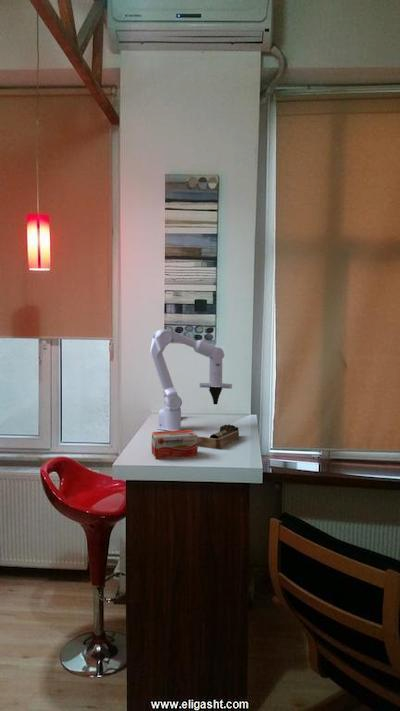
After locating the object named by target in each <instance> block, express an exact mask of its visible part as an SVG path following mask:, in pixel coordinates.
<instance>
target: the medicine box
mask: <svg viewBox="0 0 400 711" xmlns="http://www.w3.org/2000/svg"><path fill="white" fill-rule="evenodd" d="M197 436H198V434H197V433H195V432H194V430H192V429H181V430H178V431H168V430H161V431H152V433H151V454H152V455H153V457H154V459H155V460H163V459H165V460H166V459H178V458H194V457H193V456H196V457H198V449H199V448H198V447H199V446H198V437H197Z"/></svg>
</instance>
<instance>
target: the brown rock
mask: <svg viewBox="0 0 400 711" xmlns="http://www.w3.org/2000/svg"><path fill="white" fill-rule="evenodd" d="M239 429H240V428H239V427H238V426H235V425H233V424H224V425H220V427H219V430H218V431H217V432H216V433H213V434H211V435H210V436H209V438H215V439H218V438H221V437H223V436H225V435H227V434H230V433H232V432H234V431H239V432H240V430H239Z"/></svg>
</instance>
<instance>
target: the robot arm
mask: <svg viewBox="0 0 400 711" xmlns="http://www.w3.org/2000/svg"><path fill="white" fill-rule="evenodd" d="M175 342H176V343H180V344H183V345H185V346H188V347H190V348H192V349H193V351H194V352H195V353H198V354H200V355H202V356H204V357H206V358H209V372H208V373H209V381H208V382H200V383H199V388H200V389H201V388H203V389H205V388H207V389H208V388H209V389H208V391H209V394H210V396H211V398H212V402H213V405H218V402H219V398H220V395H221V393H222V390H223V389H229V390H232V389H233V384H232V383H224V382H223V359H224V358H225V353H224V350H223V349H222V348H221V347H217V346H216V345H215V344H210V343H208V342H207V341H206V340H205V339H202V340H201V339H198V340H194V339H192V338H189V337H187V336H186V335H184V334H181V333H179V332H175V331H173V330H170V329H167V328H166V329H165V328H164V329H161V328H160V329H158V330H156V331H155V333H154V334H153V336H152V339H151V345H150V347H149V348H150V349H149V353H150V356H151V359H152V362H153V364H154V368H155V371H156V373H157V376H158V380H159V383H160V386H161V388H162V394H163V404H164V405H165V406H164V407H163V408H160V410H159V411H158V415H157V418H158V424H157V426H158V428H157V430H161V431H179V430H185V427H184V426H182V423H181V422H182V420H181V419H182V409H181V407H182V404H183V400H182V398H181V397H180V396H179V395H178V393H177V390H176V388H175V386H174V383H173V380H172V378H171V375H170V372H169V369H168V366H167V363H166V360H165V357H164V355H163V353H164V350H165V349H166V347H168V345H170V343H175Z"/></svg>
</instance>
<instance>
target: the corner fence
mask: <svg viewBox="0 0 400 711" xmlns="http://www.w3.org/2000/svg"><path fill="white" fill-rule="evenodd" d="M239 435H240V430H239V431H234V432H232V433H230V434H227V435H225V436H223V437H221V438H218V439H215V438H210V437H205V436H200V435H199V436H198V435H197V437H198V447H202V448H206V449H207V448H209V449H214V450H220V449H223V448H225V447H226V446H228V445H229V446H230V445H231V444H232V443H235V442H237V441H239V439H240V436H239Z"/></svg>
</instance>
